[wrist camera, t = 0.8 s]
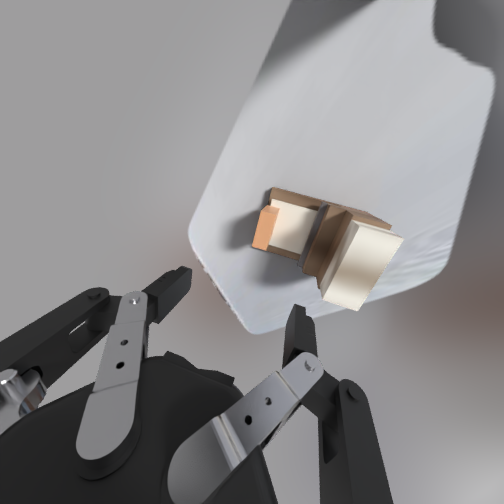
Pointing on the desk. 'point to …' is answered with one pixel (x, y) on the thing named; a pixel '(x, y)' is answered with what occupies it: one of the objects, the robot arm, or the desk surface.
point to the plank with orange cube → (283, 226)
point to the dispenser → (341, 249)
